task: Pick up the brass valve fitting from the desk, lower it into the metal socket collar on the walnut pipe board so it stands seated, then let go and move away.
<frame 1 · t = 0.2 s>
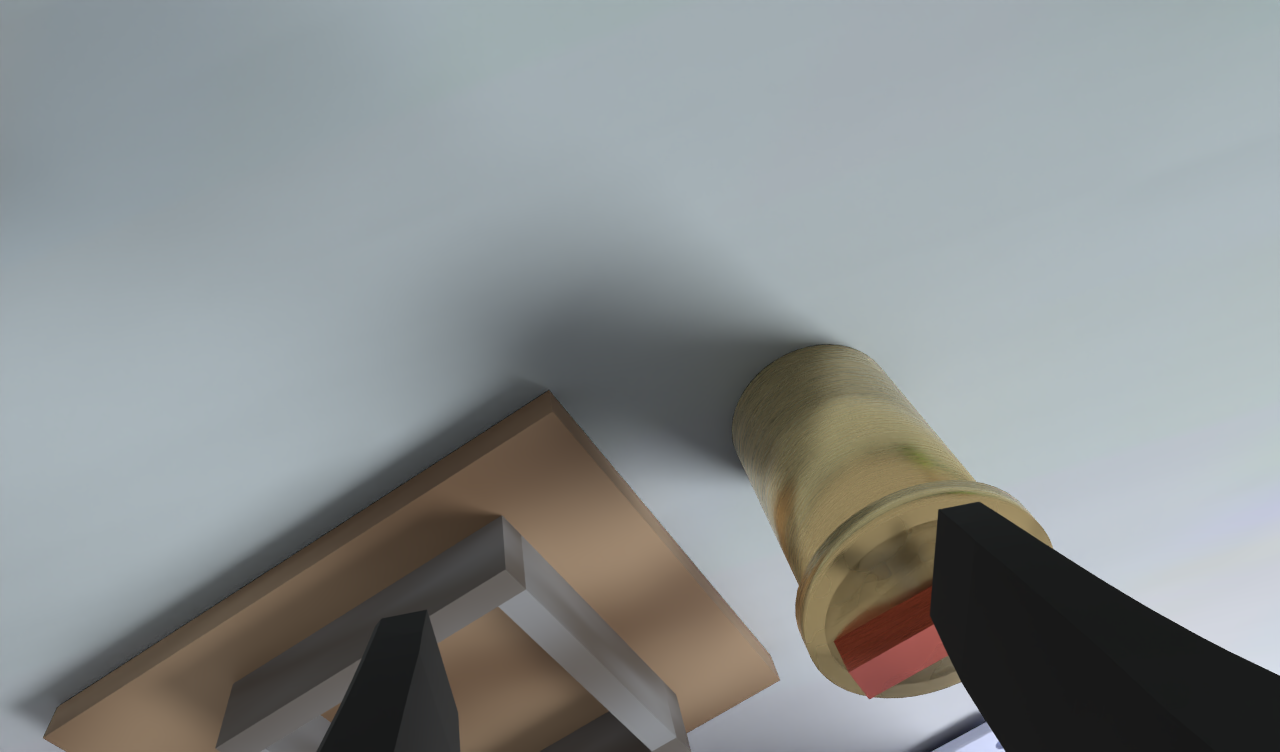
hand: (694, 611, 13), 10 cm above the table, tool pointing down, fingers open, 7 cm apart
valve fitting: (812, 418, 24), on the table
pipe board: (440, 679, 26), on the table
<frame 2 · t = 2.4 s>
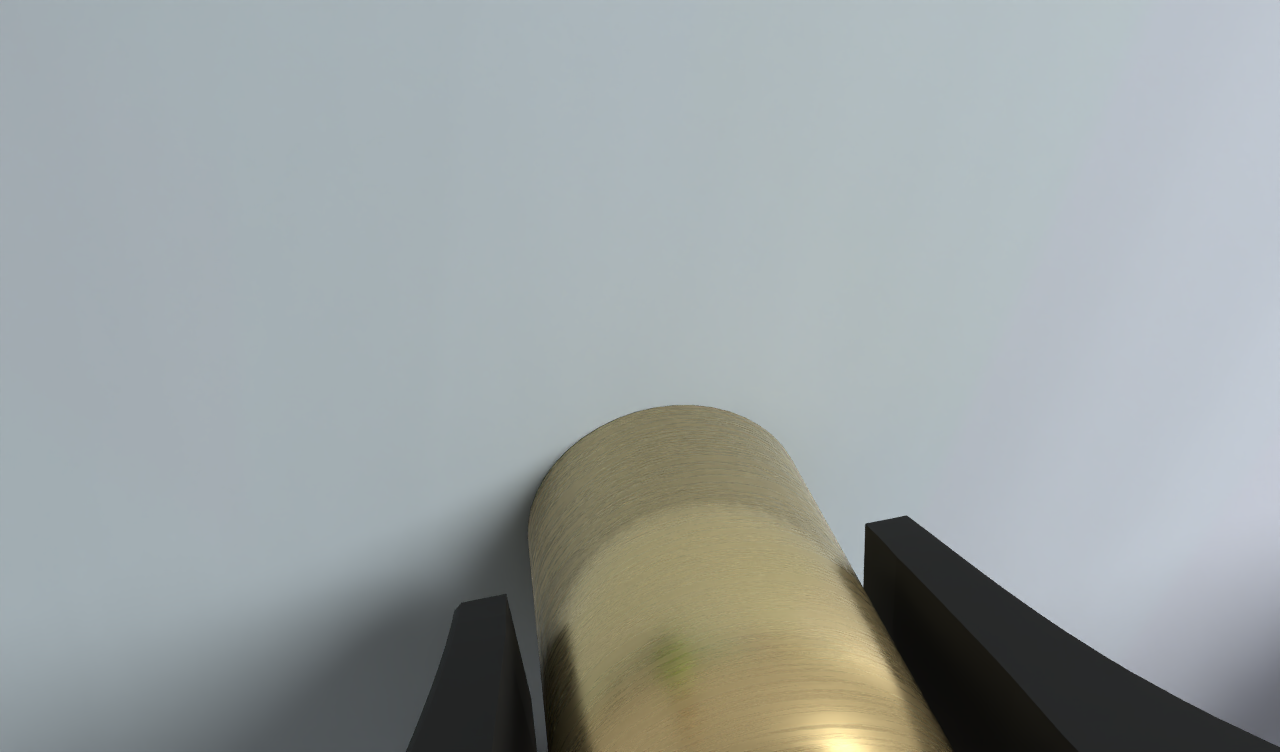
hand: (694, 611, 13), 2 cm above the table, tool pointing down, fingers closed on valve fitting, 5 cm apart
valve fitting: (667, 525, 14), on the table, touching gripper
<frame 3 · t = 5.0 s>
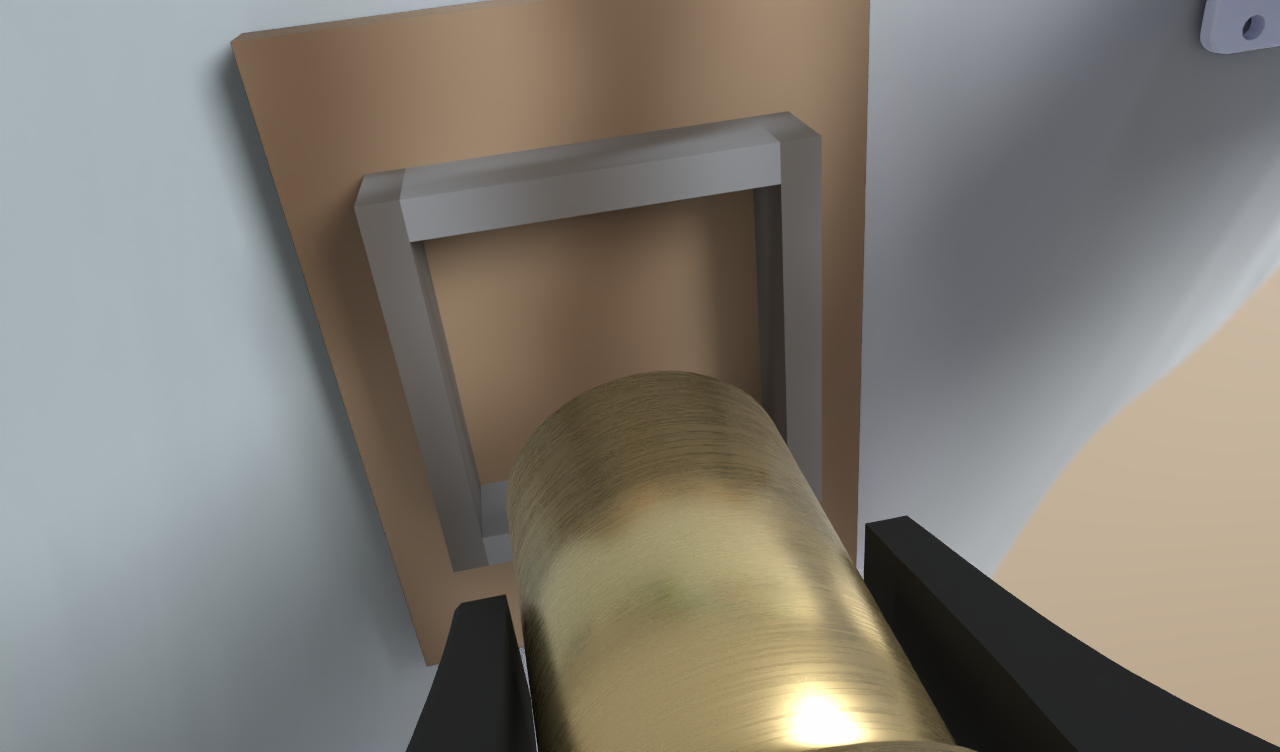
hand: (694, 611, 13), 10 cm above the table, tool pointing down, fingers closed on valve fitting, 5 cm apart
valve fitting: (648, 490, 14), point 8 cm above the table, touching gripper
pipe board: (606, 350, 22), on the table
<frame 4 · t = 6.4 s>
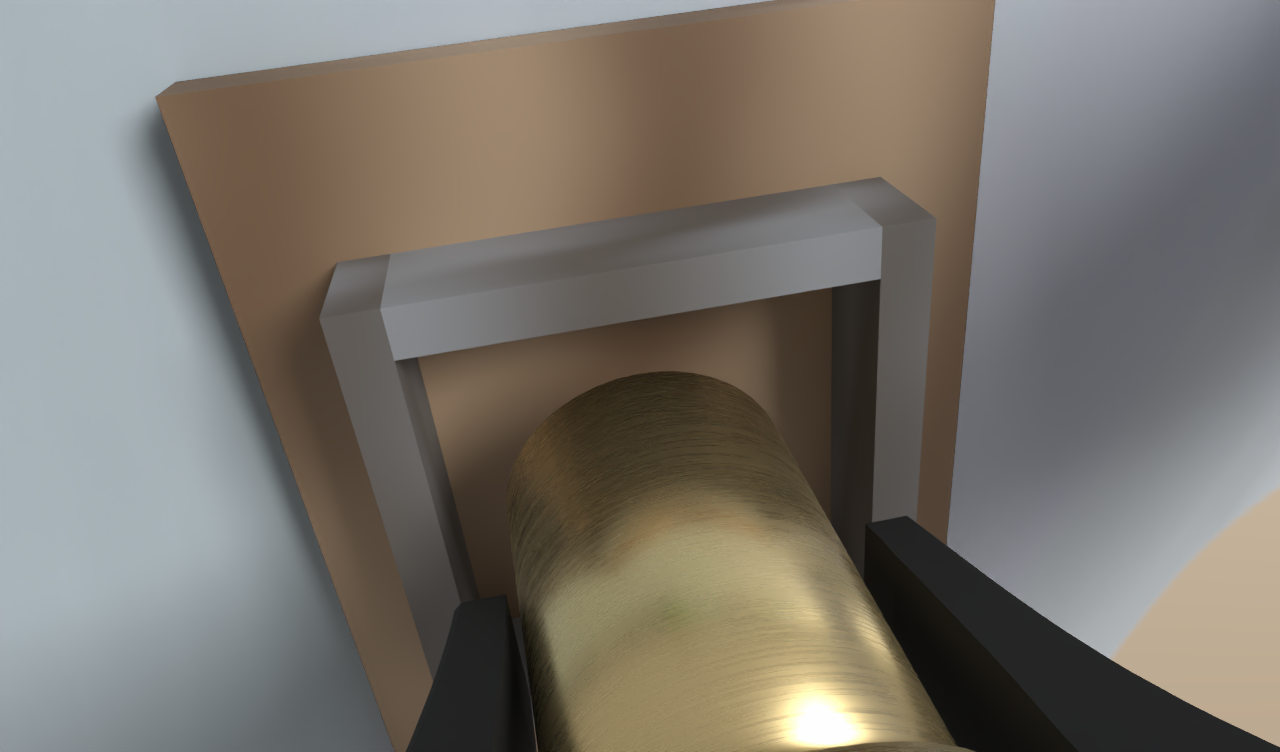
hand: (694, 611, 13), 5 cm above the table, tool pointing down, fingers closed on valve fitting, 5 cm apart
valve fitting: (648, 491, 14), point 3 cm above the table, touching gripper
pipe board: (640, 458, 18), on the table
when the fingers open (4 cm above the table, at t = 7.7 s): valve fitting stays where it is, resting on pipe board.
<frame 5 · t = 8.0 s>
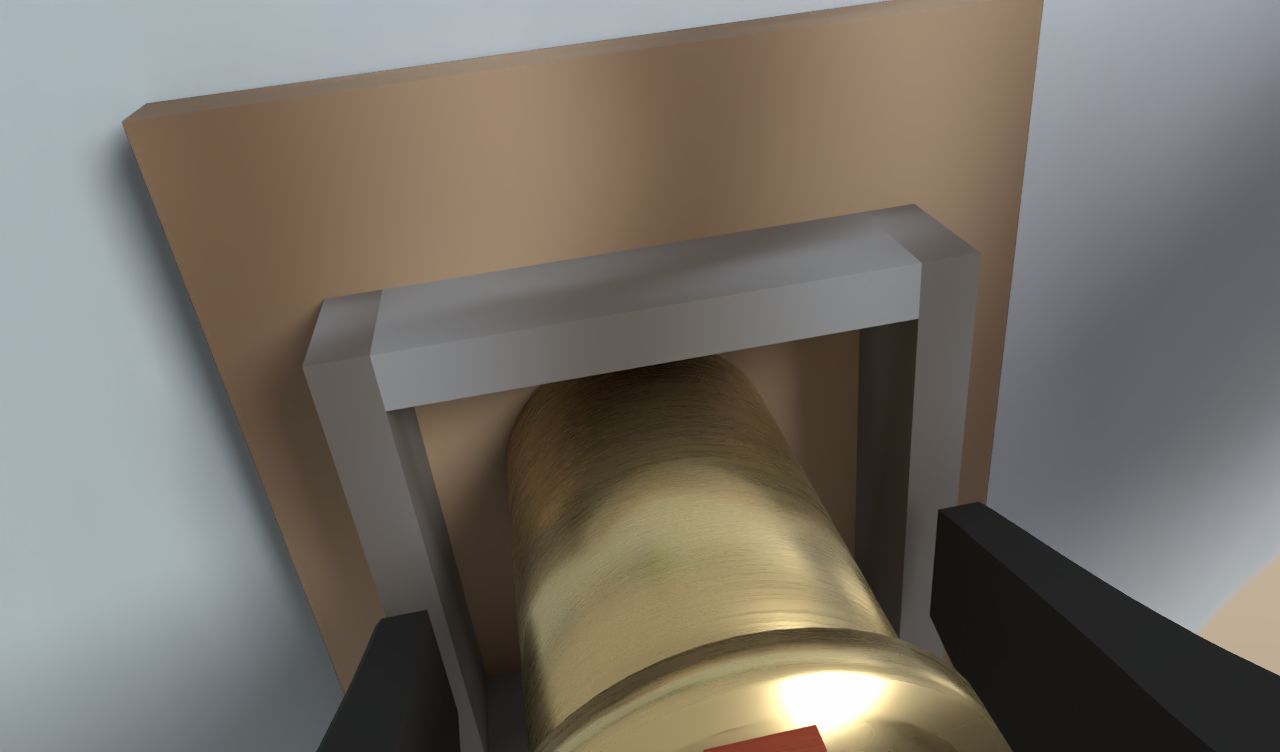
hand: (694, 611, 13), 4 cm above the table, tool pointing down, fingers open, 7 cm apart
valve fitting: (641, 460, 15), point 1 cm above the table, touching pipe board
pipe board: (651, 500, 16), on the table
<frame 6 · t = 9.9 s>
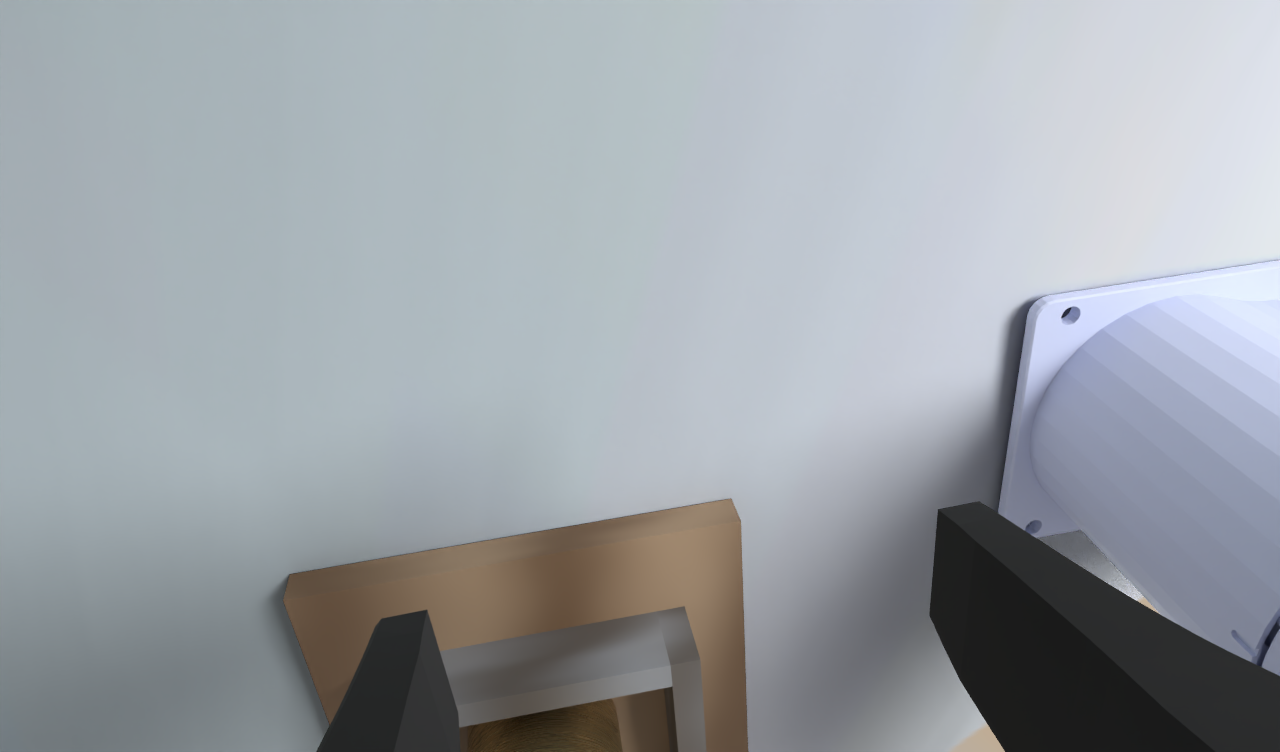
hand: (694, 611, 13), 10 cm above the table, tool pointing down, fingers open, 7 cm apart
valve fitting: (543, 725, 27), point 1 cm above the table, touching pipe board
pipe board: (553, 732, 28), on the table
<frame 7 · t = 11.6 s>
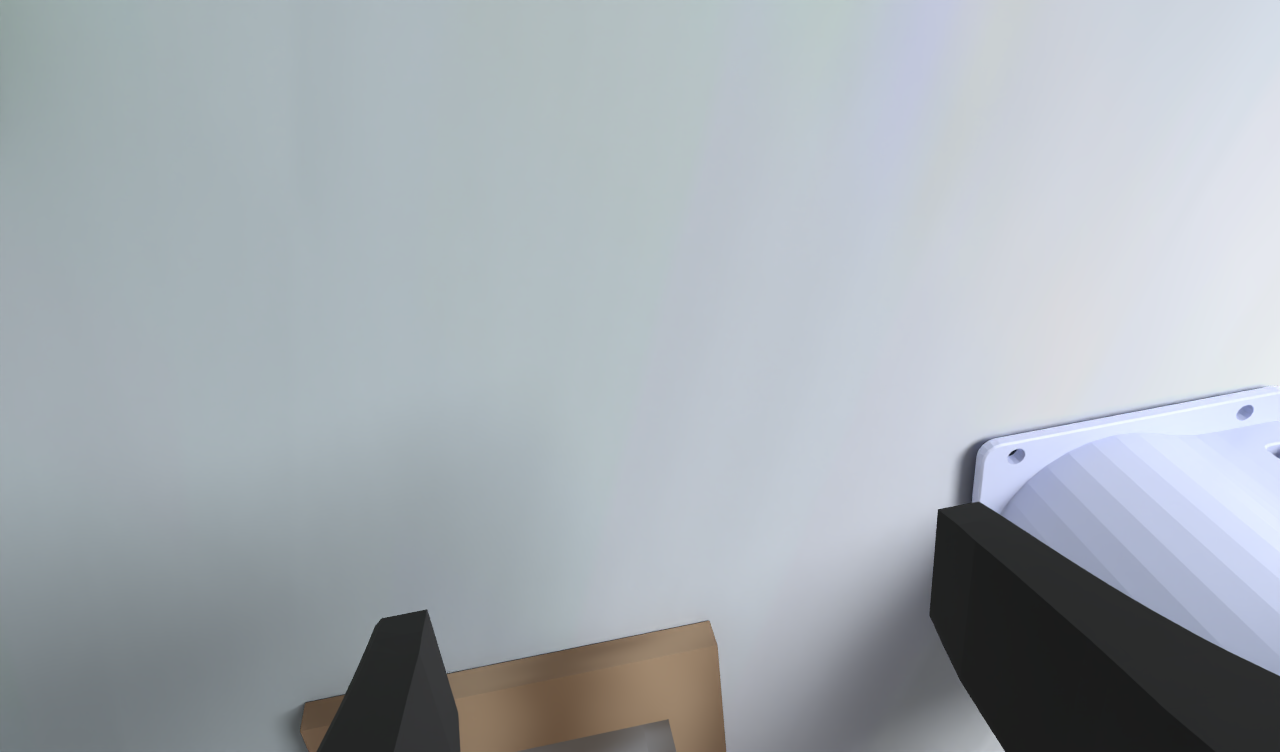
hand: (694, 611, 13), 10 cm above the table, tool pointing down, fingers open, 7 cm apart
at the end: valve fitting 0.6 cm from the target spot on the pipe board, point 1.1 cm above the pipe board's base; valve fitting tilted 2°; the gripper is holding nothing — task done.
